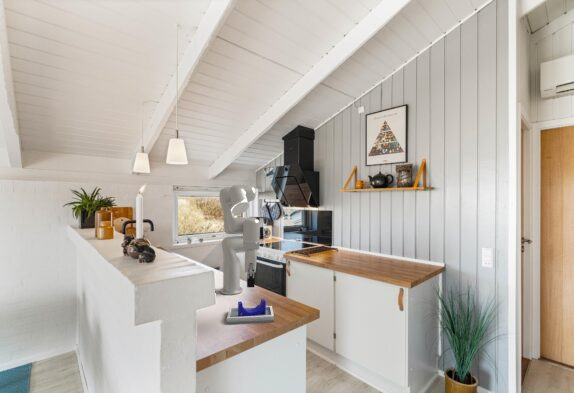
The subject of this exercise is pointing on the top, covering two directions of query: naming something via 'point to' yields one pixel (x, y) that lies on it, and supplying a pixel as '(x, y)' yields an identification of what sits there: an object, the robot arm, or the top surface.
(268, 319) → the shallow rectangular tray
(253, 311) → the blue long irregular block
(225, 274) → the robot arm
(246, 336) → the top surface
